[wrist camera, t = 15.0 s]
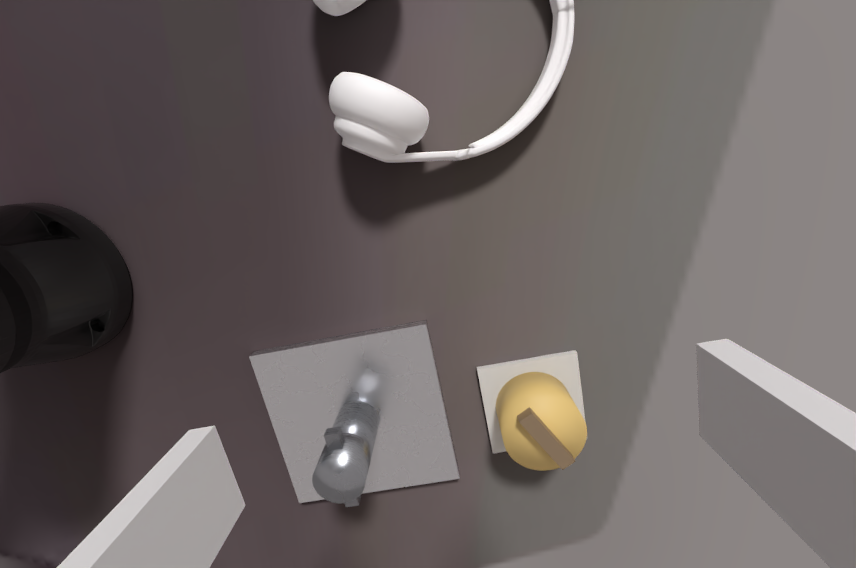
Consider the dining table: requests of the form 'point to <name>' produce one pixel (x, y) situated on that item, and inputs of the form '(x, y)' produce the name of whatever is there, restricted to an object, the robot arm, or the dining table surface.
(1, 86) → the dining table surface
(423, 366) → the post fixture
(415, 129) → the headphones
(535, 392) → the cap
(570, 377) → the mat
